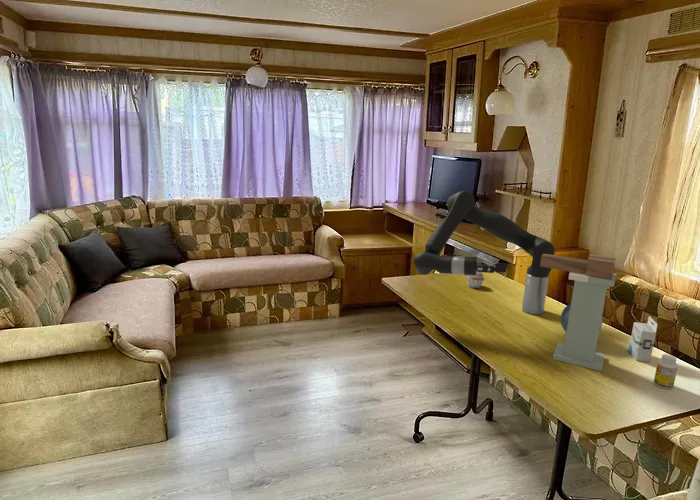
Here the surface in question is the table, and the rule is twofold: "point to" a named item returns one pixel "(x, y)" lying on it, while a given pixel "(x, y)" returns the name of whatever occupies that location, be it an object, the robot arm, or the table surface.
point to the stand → (584, 322)
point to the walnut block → (581, 265)
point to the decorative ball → (566, 317)
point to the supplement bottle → (666, 371)
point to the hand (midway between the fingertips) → (507, 267)
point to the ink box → (643, 340)
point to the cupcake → (475, 280)
